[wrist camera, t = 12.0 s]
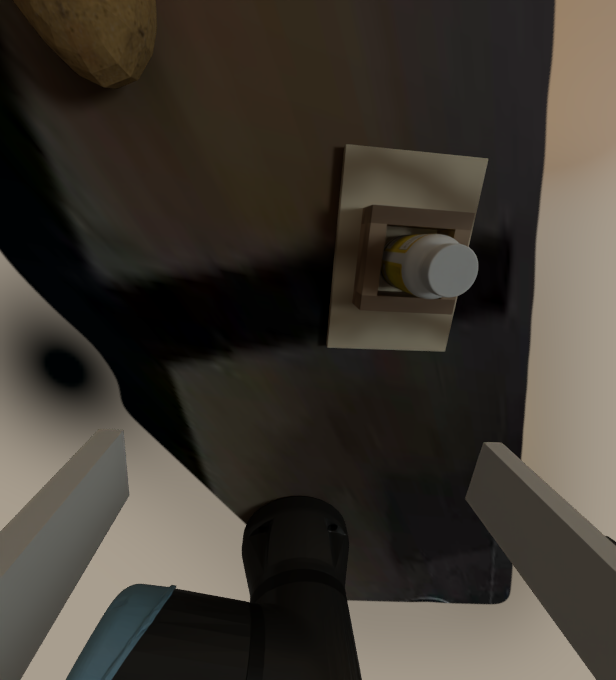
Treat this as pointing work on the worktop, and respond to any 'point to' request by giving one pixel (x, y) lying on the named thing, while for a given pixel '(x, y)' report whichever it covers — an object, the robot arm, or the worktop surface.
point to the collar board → (386, 224)
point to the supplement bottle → (429, 265)
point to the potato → (97, 35)
